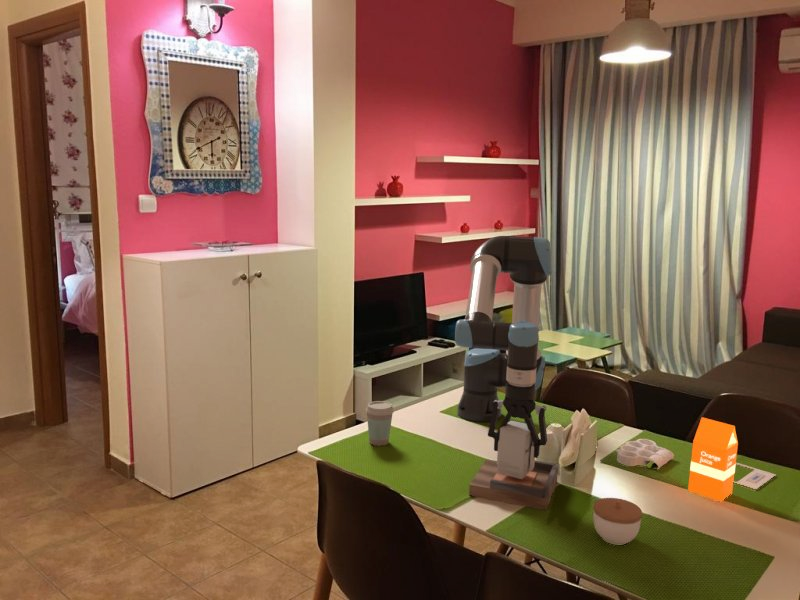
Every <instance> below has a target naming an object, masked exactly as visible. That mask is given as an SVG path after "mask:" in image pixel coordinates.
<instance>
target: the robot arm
mask: <svg viewBox="0 0 800 600" xmlns="http://www.w3.org/2000/svg"><path fill="white" fill-rule="evenodd" d="M552 263H553V262H552V248H551V241H550V240H549V239H548V238H547V237H537V236H516V235H515V236H513V235H511V236H510V235H498V236H494V237H491V238H489V239H488V240H486V241H484V242H483V243H482V244H480V245H479V246H478V247H477V248H476V250H475V252H474V253H473V254H472V256H471V259H470V264H469V270H470V273H471V279H470V286H469V292H468V298H467V304H466V310H465V315H464V316H465V317H464V319H458V320H457V321H456V323H455V329H454V330H455V331H454V342H455V345H456V346H457V347H461V348H468V349H469V350H468V351H467V352H466V353H465V356H464V363H463V366H464V373H463V374H464V377H463V391H462V395H461V396H460V400H459V402H458V405H457V412H456V414H457V415H458V416H459V417H460V418H462V419H465V420H467V421H473V422H484V423H485V422H486V423H487V422H490V424H489V427H488V432H487V437H489V438H492V439H493V442H494V443H493V450H494V452H497V455H496V457H497V458H496V461H497V464H498V454H499V438H500V428H501V427H503V426H506V425H507V423H508V422H510V421H511V420H510V419H511V418H518V419H521V420H522V419H523V420H524V422H525V424H527V427H528V430H530V435H531V438H532V440H533V444H532V446H531V456H530V470H533V468H534V463H535V461H536V459H537V458H538V457H539V456H540V447H541V446H546V445H547V442H548V435H547V425H546V424H547V423H546V416H545V414H546V410H547V406H545V405H542V406H541V405H538V404H537V403H536V401H535V398H536V397H535V396H536V390H538V389H539V388H540V387H541V385H542V381H543V376H544V372H545V371H544V370H545V365H546V357H545V356H543V355H542V351H541V350H540V349H539V340H540V336H539V326H540V325H539V324H540V314H541V313H540V311H541V310H540V309H541V300H542V299H541V298H542V297H541V296H542V294H541V293H542V285H543V284H545V283H546V282H547V280H548V277H550V276H552V274H553V266H552V265H553V264H552ZM502 273H503V274H509V279H510V281H511V282H512V283H513V286H514V287H513V299H512V301H513V302H512V316H511V318H512V319H511V320H512V321H511V322H501V321H493V314H494V306H495V297H496V288H497V279H498V276H500V274H502ZM501 351H505V353H503V352H501ZM499 388H503V389H504V388H505V392H504V399H503V400H500V399H499V396H498V395H499V394H498V389H499ZM502 407H504V409H505V410H506V412H507V413H506V415H505V416H504V419H502V422H501V424H500V426H499V428H498V430H497V432H496V431H495V430H496V427H497V422H498V420H499V419H501V417H502ZM534 411H536V414H537V416H538V427H539V434H540V435H539V434H538V431H537V428H536V425H535V422H534V420H533V417H532V416H533V415H532V412H534ZM539 436H540V437H539Z"/></svg>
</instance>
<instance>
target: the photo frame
mask: <svg viewBox="0 0 800 600" xmlns="http://www.w3.org/2000/svg"><path fill="white" fill-rule="evenodd" d="M738 465H740V466H739V467H742V466H743V467H742V468H745V467H747V468H746V469H748V468H750V469H749V470H751V469H753V470H752V471H750V472H749V473H748V474H746V475H745V476H744V477H742V478H741V479H739V480H738V481H735V480H734V481H733V482H734V483H737V484H740V485H744V486H747V487H750V488H753V489H758V488H759V487H760V486H762V485H763V484H764V483H766V482H767V481H769V480H770V479H771V478H773V477H774V476H775V477H776V475H777V473H776V474H775V473H772V472H769V471H765V470H762V469H759V468H755V467H754V466H753V467H752V466H750V465H746V464H743V463H739V462H736V466H738ZM775 477H774V478H775ZM774 478H773V479H774ZM771 480H772V479H771ZM771 480H770V481H771ZM770 481H769V482H770ZM767 483H768V482H767ZM767 483H766V484H767ZM763 486H764V485H763ZM763 486H762V487H763ZM759 489H760V488H759ZM759 489H758V490H759Z"/></svg>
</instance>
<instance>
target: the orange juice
mask: <svg viewBox="0 0 800 600" xmlns="http://www.w3.org/2000/svg"><path fill="white" fill-rule="evenodd" d="M699 421H700V422H699V424H698V427H697V429H696V432H695V435H694V439H693V440H692V441H693V442H692V450H691V460H690V468H689V479H688V487H687V489H688V490H687V492H688V491H691V492H694V493H697V494H700V495H703V496H706V497H709V498H712V499H715V500H718V501H720V502H719V503H722V502H723V501H724V499H725V498H726V497H727V498H728V496H729V495H730V494H731V495H732V494H733V487H734V484H733V481H735V480H734V478H735V473H736V466H737V465H736V463H737V455H738V446H739V442H738V437H737V433H736V426H735V425H732V424H728V423H726V422H721V421H717V420H714V419H709V418H707V417H701V418H700V420H699ZM691 492H690V493H691ZM694 493H693V494H694ZM697 494H696V495H697ZM700 495H699V496H700ZM731 495H730V496H731ZM703 496H702V497H703ZM730 496H729V497H730ZM706 497H705V498H706ZM709 498H708V499H709ZM727 498H726V499H727ZM712 499H711V500H712ZM726 499H725V500H726ZM715 500H714V501H715ZM722 500H723V501H722ZM718 501H717V502H718ZM721 501H722V502H721Z"/></svg>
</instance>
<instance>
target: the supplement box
mask: <svg viewBox="0 0 800 600" xmlns="http://www.w3.org/2000/svg"><path fill="white" fill-rule="evenodd" d="M499 428H500V427H499ZM532 444H533V440H532V438H531V435H530V430H528V427H527V424H526V423H524V422H519V421H514V420H509V422H508V423H507V425H506V426H503V427H501V428H500V438H499V454H498V453H497V454H498V470H497V473H500V474H504V475H507V476H511V477H515V478H519V479H523V478H524V477H525V476H526V475H527V474H528V473H529V472H530V471H532V470H530V456H531V446H532Z"/></svg>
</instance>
